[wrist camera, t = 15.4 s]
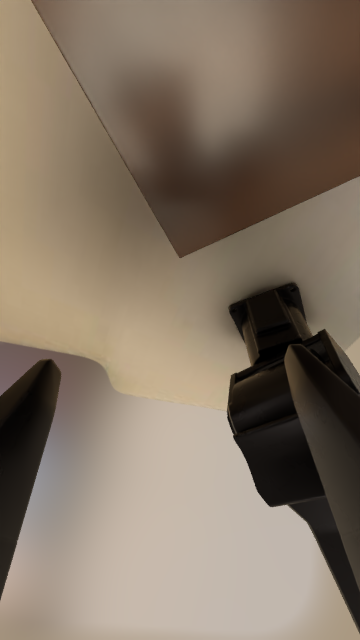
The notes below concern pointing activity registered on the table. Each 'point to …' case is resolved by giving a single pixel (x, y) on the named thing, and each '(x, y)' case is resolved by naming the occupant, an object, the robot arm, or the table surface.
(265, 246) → the table surface
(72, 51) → the shelf
